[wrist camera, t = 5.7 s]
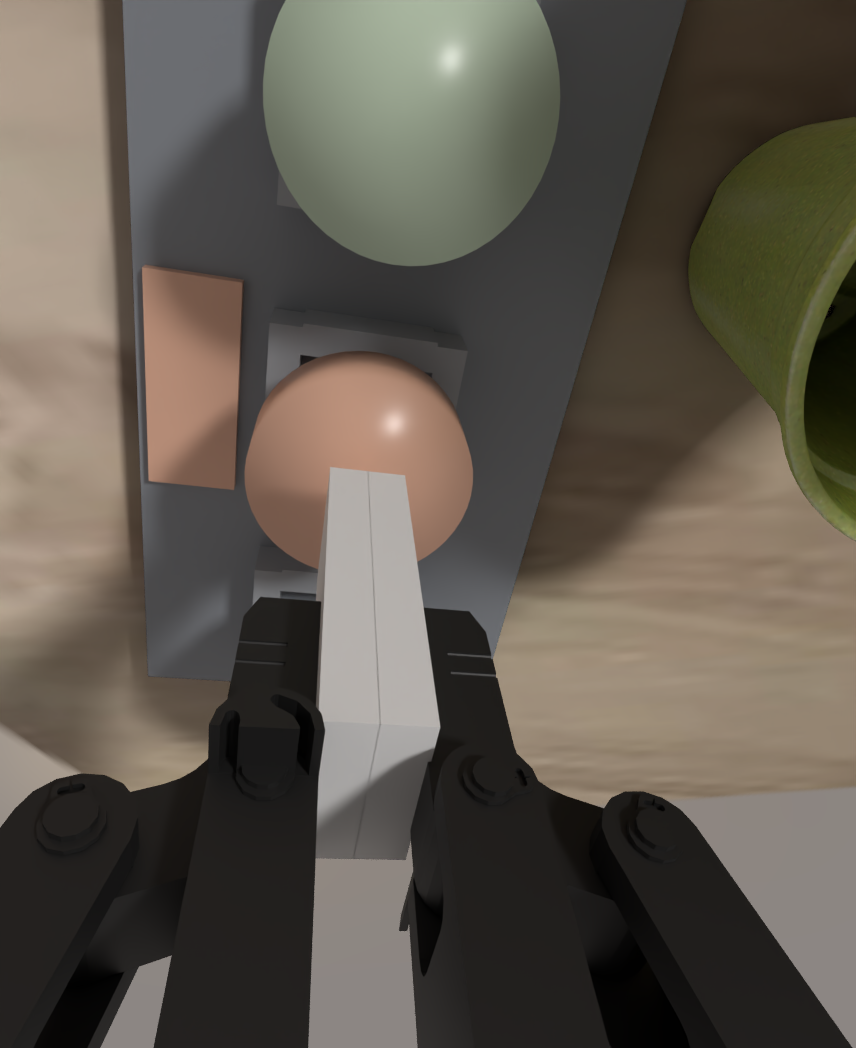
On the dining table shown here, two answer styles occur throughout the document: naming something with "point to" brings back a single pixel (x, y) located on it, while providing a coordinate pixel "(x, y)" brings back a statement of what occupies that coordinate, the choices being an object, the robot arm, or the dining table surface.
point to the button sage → (411, 119)
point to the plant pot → (791, 298)
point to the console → (348, 308)
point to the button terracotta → (356, 448)
